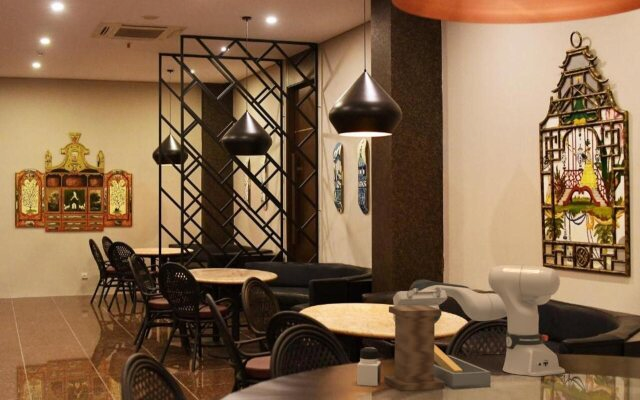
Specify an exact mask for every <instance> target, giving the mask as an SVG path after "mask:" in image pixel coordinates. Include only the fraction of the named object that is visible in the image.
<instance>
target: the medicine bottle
mask: <svg viewBox="0 0 640 400" xmlns="http://www.w3.org/2000/svg"><path fill="white" fill-rule="evenodd" d="M359 353H360V354H359V355H360V356H359V360H360V361H359V362H358V363H357V366H356V385H357V386H365V387H367V386H368V387H378V386H379V385H380V384H381V381H382V380H381V378H382V377H381V375H382V373H381V372H382V370H381V368H382V367H381V366H382V364H381V360H379V350H378V349H377V348H375V347H363V348H361V349H360V351H359Z"/></svg>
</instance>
